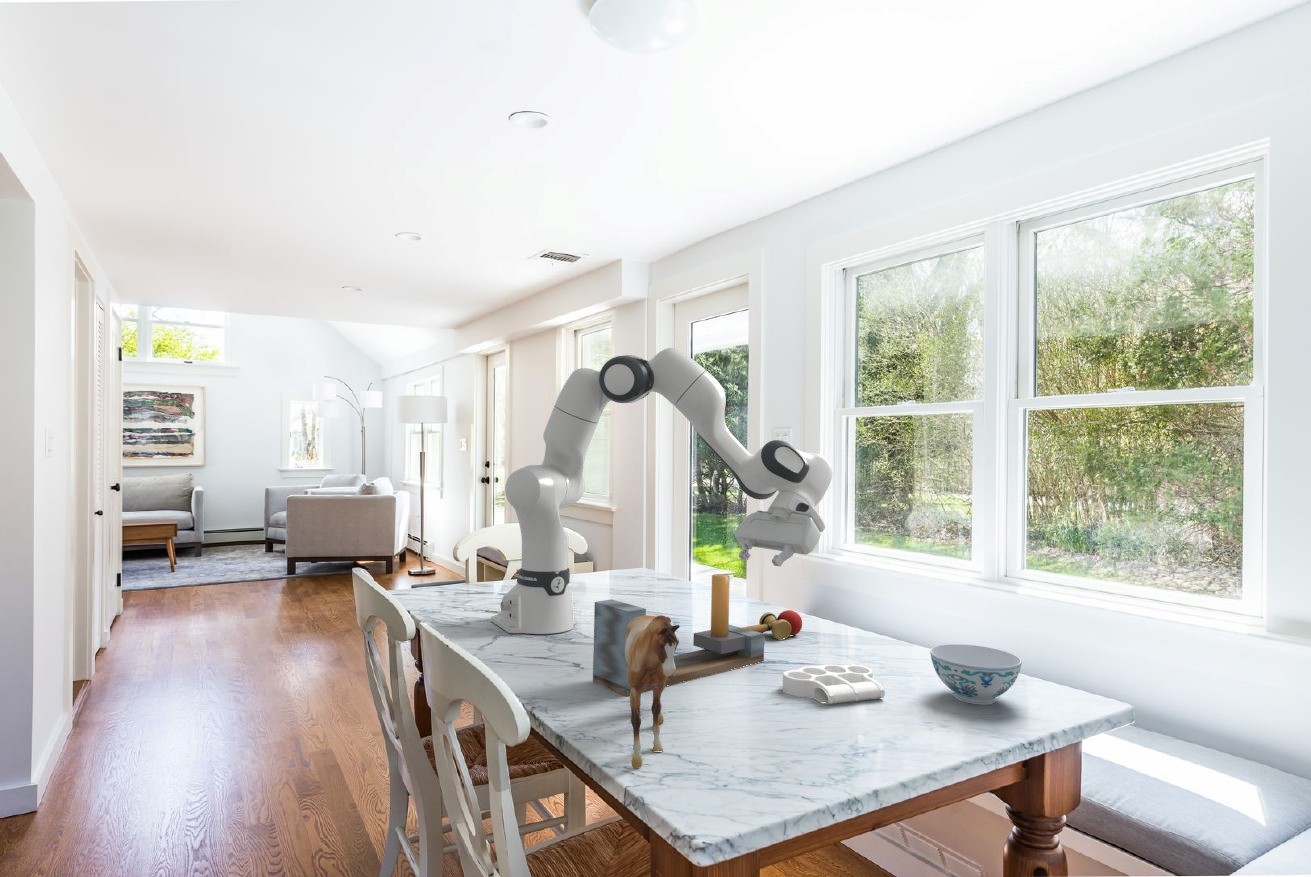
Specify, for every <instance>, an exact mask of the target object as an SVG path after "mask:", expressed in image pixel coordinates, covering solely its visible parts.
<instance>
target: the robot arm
mask: <svg viewBox="0 0 1311 877" xmlns="http://www.w3.org/2000/svg"><path fill="white" fill-rule="evenodd" d="M651 392H653V393H656V394H659V395H661V396H662V397H664V398H665V399H666V400H667V401H668V402H669V403H670V404H672V405H673V406H674V407H675V408H676V410H678V411H679V412H680V413H681V414H682V415H683V416H684V417H685V418H686V419H687V420H688V421H689V423H690V424H691V425H692V427H693V429H694V430H695V432H696V433H697V436H699V437H700V439H701V440H702V441H703V442H704V443H705V445H706V446H707V447H708V448H709V449H710V451H712V453H714V455H715V456H716V457H718V459H719V460H720V461H721V462H722V464H724V466H725V467H726V468H727V469H728V470H729V471H730V472H731V474H732V475H733V476H734V479H735V480H736V482H737V483H738V486H739V488H740V489H741V490H742V492H743V493H744V494H745V495H747V496H748V497H750V498H752V499H755V500H760V501H761V500H767V499H770V498H771V497H773V496H774V495H775V494H776V493H777V492H778V493H777V495H776V497H774V499H773V501H772V502H771V504H770V506H769V507H768V509H767V511H763V510H757V511H756V512H752V513H750V514H749V515H747V516H746V517H745V518H744V519H743V520H742V521H741V523H739V525H738V527H737V528H736V529H735V531H734V537H735V539H736V540H737V542H738V543H739V545H741V551H740V552H739V554H738V558H739V560H741V561H745V562H747V561H749V558H751V554H750V550H751V549H752V548H758V549H765V550H773V551H779V552H780V553H779V554H775V555H774V556H773V558H772V559H771V563H772V564H773V566H775V567H782V566H783V564H784V562H785V561H787V560H789V559H790V558H792V557H793V556H794V554H799V555H804V556H805V555H809V554H810V553H813V551H814V549H815V548H816V546H817V544H818V543H819V541H820V538H821V534H822V532H824V530H825V529H826V524H825V522H824V521H823V519H822V517H821V515H820V513H818V511H817V510H816V508H815V507H816V506H817V505H818V504H819V503H820V502H821V501H823V500H822V499H823V497H825V494H826V493H827V491H828V489H829V487H830V484H831V482H832V479H833V468H832V466H831V464H830V462H829V461H828V459H826V458H825V457H824V456H823V455H821V454H819V453H817V452H805V451H802V450H799V449H797V448H795V447H793V446H792V445H791V444H789V442H786V441H783V440H780V439H775V440H770V441H768V442H766V443H765V444H764V445H763V446H762V447H761V448H760V449H759V450H758V451H757V452H756V453H755V454H752V453H751V452H749V451H748V450H747V449H746V448H745V446H744V445H743V444H742V443H740V441H739V440H738V439H737V438H736V437H735V436H734V434H732V432H731V431H730V429H729V428H728V427H727V426H728V425H727V423H726V419H725V418H726V416H725V414H726V413H725V412H726V410H725V409H726V404H727V403H726V402H727V401H726V399H727V398H726V391H725V389H724V387H723V386H722V385H721V384H720V382H719V380H718V379H716V378H715V377H714V376H713V375H712V374H711V373H710V372H709V371H708V370H706V369H705V368H704V367H703V366H702V365H701V364H699V363H698V362H697V361H695V360H694V359H693V358H691V357H690V356H688V355H687V354H685V353H684V352H682V351H680V350H678V349H676V348H673V347H668V348H665V349H662V350H661V351H659V352H657V354H655V355H654V356H653V357H652V358H651V359H650V360H646V359H643V358H641V357H638V356H635V355H632V354H625V355H617V356H613V357H611V358H610V359H609V360H607V361H606V362H605V363H604V364H603V365H602V367H601V369H600V371H598V370H595V369H592V368H587V367H582V368H577V369H575V370H574V371H572V372H571V373H570V375H569V377H568V378H567V380H566V382H565V383H564V385H563V387H562V388H561V391H560V393H559V395H558V396H557V398H556V400H555V403H554V405H553V409H552V411H551V414H550V416H549V418H548V421H547V423H546V426H545V429H544V431H543V435H542V436H543V441H544V443H545V449H544V450H545V451H544V457H543V461H542V463H541V464H532V465H531V464H530V465H525V466H523V467H521V468H519V469H517V470H515V471H513V472H512V473H510V475H509V476H508V477H507V480H506V482H505V486H504V490H505V491H504V492H505V496H506V499H507V501H508V503H509V505H510V506H512V507H513V509H514V511H515V513H516V517H517V520H518V525H519V529H520V536H521V537H520V538H521V566H520V568H519V569H516V570H515V571H516V575H517V578H516V584H515V585H514V586H513V587H512V588H511V589H510V590H509V591H508V592H507V593H506V594H505V595H504V596H502V599H501V601H500V614H495V615H492V616H491V617H490V622H491V623H494V624H495V625H496V626H498V627H499V628H500V629H502V630H504V631H505V632H506V633H508V634H528V635H529V634H531V635H550V634H552V635H553V634H559V633H564V632H568V631H571V630H572V629H574V625H576V624H577V623H578V618H576V617H575V616H574V601H573V599H574V598H573V591H572V589H571V588H570V586H569V584H570V579H571V578H570V577H571V574H570V572H571V570H570V568H569V536H568V533H567V532H566V530H565V529H564V527H563V523H562V520H561V516H560V510H563V509H566V508H567V509H568V507H571V506H573V505H574V504H576V503H578V501H580V500H581V498H582V497H583V495H584V493H585V488H586V487H585V486H586V485H585V484H586V483H585V479H584V477H583V475H584V474H583V473H584V468H585V466H584V465H585V461H586V455H587V453H588V452H587V451H588V450H589V446H590V444H591V441H592V439H593V436H594V435H595V430H596V429H597V425H598V423H599V421H600V419H601V416H602V413H603V411H604V410H605V408H606V406H607V405H608V404H609V403H610V402H614V403H618V404H630V403H631V404H632V403H635V402H638V401H640V400H643V399H644V398H646V397H647V396H648V395H650V393H651Z"/></svg>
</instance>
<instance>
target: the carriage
mask: <svg viewBox="0 0 1311 877" xmlns="http://www.w3.org/2000/svg"><path fill="white" fill-rule="evenodd" d="M730 578H731V577H730V575H728V574H724V573H723V574H720V573H715V574H712V575H711V596H710V597H711V600H710V601H711V607H710V611H711V612H710V629H709V630H704V631H698V632H694V633H693V638H692V639H693V640H692V642H693V643H692V645H693V646H694V647H696V648H701V649H702V650H703V649H706V650H710V651H713V652H716V653H719V654H724V653H728V652H733V651H737V650H742V649H746V636H743V635H739V634H736V633H732V632H728V631H729V625H730V622H729V621H730V620H729V619H730Z"/></svg>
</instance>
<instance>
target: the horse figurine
mask: <svg viewBox="0 0 1311 877" xmlns="http://www.w3.org/2000/svg"><path fill="white" fill-rule="evenodd" d="M671 622H672V620H671V618H670V617H669V616H666V615H656V616H655V615H647V614H646V615H644V616H639V617H636V618H634V619H633V620H631V621H630V622H629V624H628V626H627V640H626V644H625V658H626V662H627V664H628V665H629V669H628V675H627V679H628V683H629V686H630V688H631V691H630V696H629V705H630V706H629V707H630V711H631V712H630V713H631V715H630V716H631V717H630V722H631V726H632V729H633V744H632V745H633V746H632V750H633V754H632V759H631V767H632V768H633V769H640V768H641V767H642V765H643V756H642V754H641V753H640V752H641V750H642V749H641V748H642V745H641V740H640V728H641V725H642V720H641V713H642V712H641V696H642V693H644V692H643V691H644V690H645V689H647V688H648V687H650V686H652V688H653V690H652V703H651V709H650V710H651V714H652V732H651V733H652V735H653V741H652V744H653V746H652V751H653V750H654V751H662V752H664V749H663V746H662V740H661V738H660V734H661V729H660V726H662V725H663V724H664V722H665V718H664V714H663V711H662V708H663V704H662V701H661V697H662V693H663V691H664V689H665V683H666V681H668V682H672V681H671V680H670V679H668V678H671V677H673V672H674V671H675V670H676V667H675V663H674V656H675V653H676V650H677V647H678V645H679V643H680V640H679V639H678V638H677V635H676V631H677V630H678V629H679V628H680V627H681V626H680V624H675V625H672V624H671ZM654 751H653V752H654ZM639 767H640V768H639Z"/></svg>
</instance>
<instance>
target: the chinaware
mask: <svg viewBox="0 0 1311 877" xmlns="http://www.w3.org/2000/svg"><path fill="white" fill-rule="evenodd" d="M929 653H930V658H931V662H932V666H933V668H934V671H935V673H936V675H937V676H938V678H939V679H940V680H941V682H942V683H943V684H944V685H945V686H946V687H947V688H948V689H950V691H952V692H953V696H954V698H956V700H959V701H961V702H963V703H967V704H970V705H971V704H973V705H981V706H984V705H992V704H994V703H995V701H996V698H998V697H1000V696H1001V695H1003V694H1005V693H1006V692H1008V691H1009V689H1010V688H1012V686H1013V685H1014V684H1015V683H1016V681H1017V679H1018V677H1019V674H1020V672H1021V667H1022V662H1023V661H1022V659H1021V658H1020V657H1019V656H1018V655H1015V654H1013V653H1011V652H1008V651H1005V650H1001V649H999V648H998V649H997V648H994V647H989V646H984V645H983V646H981V645H974V644H973V645H972V644H964V643H963V644H961V643H958V644H957V643H956V644H955V643H952V644H951V643H949V644H948V643H947V644H940V645H936V646H932V648H930V650H929Z"/></svg>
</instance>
